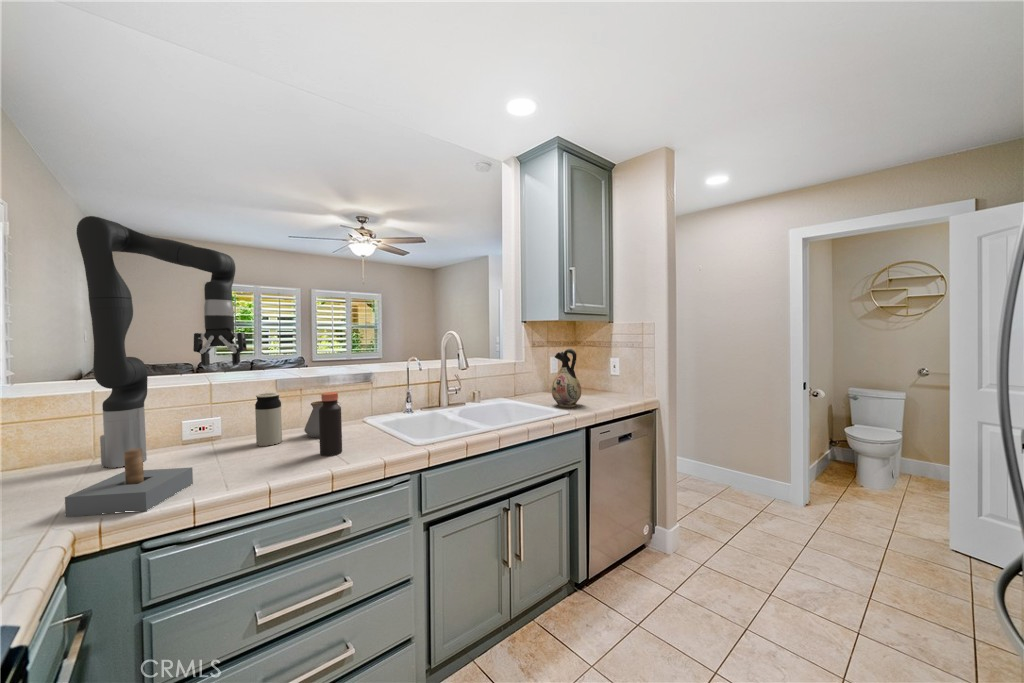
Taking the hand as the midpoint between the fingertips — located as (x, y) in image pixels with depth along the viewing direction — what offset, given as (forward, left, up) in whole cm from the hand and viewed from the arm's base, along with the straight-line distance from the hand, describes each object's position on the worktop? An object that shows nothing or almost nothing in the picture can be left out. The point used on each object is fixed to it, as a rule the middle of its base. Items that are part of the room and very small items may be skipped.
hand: (221, 365), depth 125 cm
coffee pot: (+25, +20, -30) cm, 44 cm away
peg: (-4, -30, -30) cm, 43 cm away
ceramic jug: (+132, +59, -30) cm, 148 cm away
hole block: (-4, -30, -30) cm, 43 cm away
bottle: (+33, -1, -30) cm, 45 cm away
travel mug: (+7, +15, -30) cm, 35 cm away
